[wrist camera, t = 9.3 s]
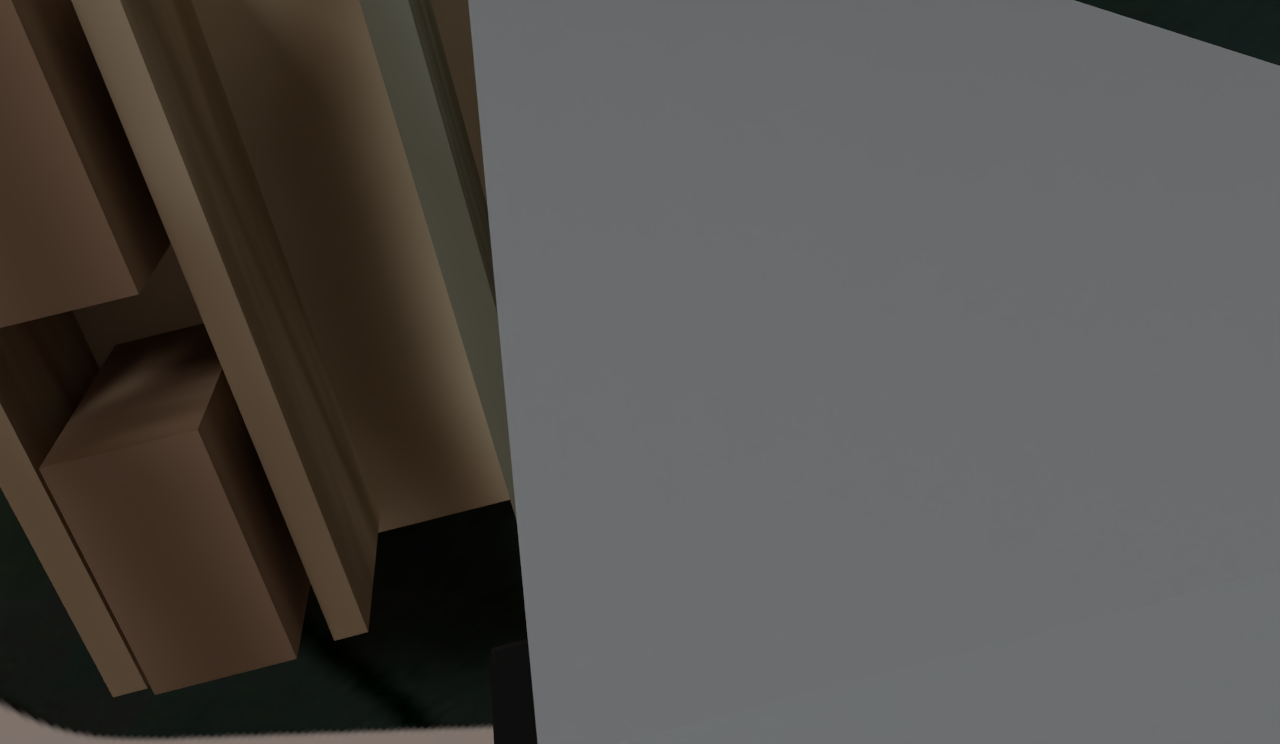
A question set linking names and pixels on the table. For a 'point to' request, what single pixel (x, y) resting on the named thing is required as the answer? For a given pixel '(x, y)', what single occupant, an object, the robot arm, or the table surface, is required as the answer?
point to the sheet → (887, 370)
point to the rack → (293, 277)
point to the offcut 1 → (65, 174)
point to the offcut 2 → (179, 514)
